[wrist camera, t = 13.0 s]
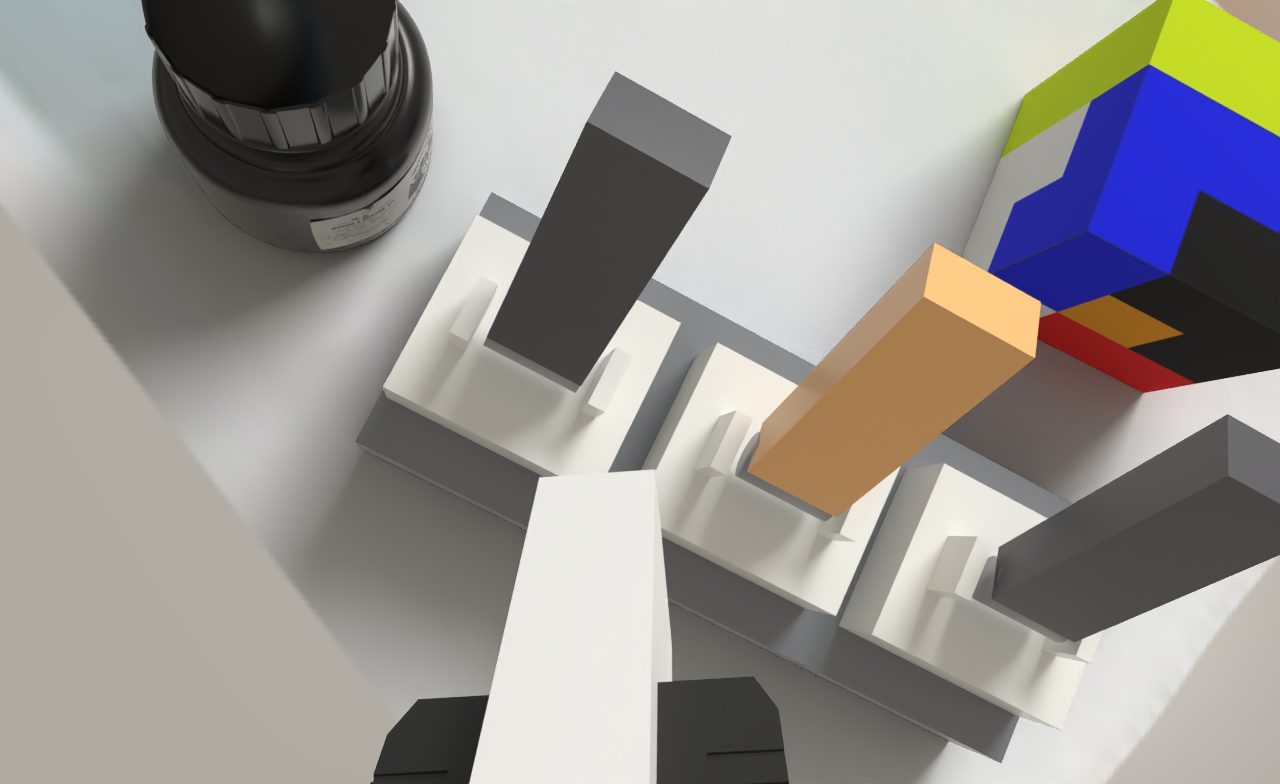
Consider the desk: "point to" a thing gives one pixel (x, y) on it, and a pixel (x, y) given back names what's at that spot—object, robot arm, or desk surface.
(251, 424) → the desk surface
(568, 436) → the block
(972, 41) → the desk surface
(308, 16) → the ink bottle
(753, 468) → the lever
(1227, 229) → the puzzle toy
